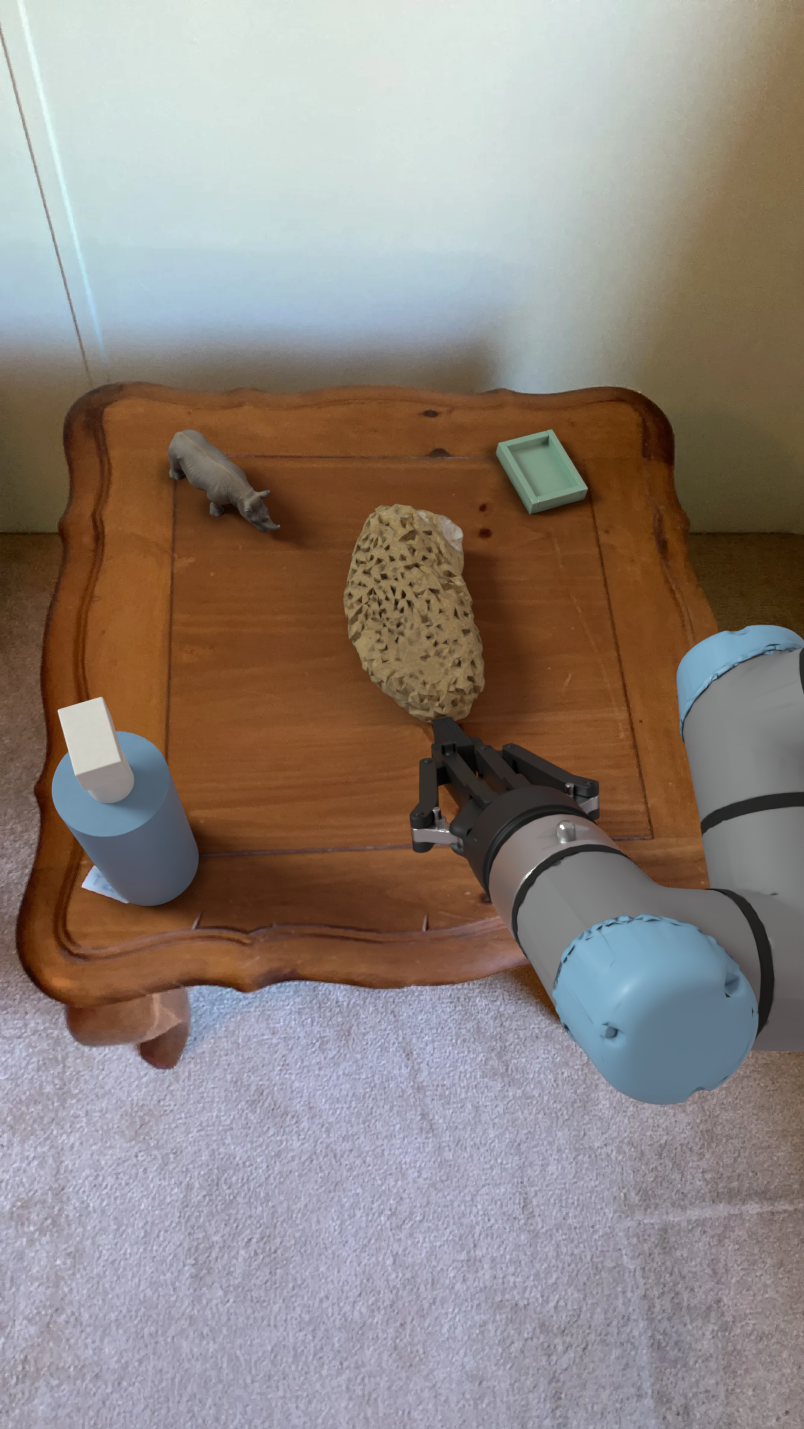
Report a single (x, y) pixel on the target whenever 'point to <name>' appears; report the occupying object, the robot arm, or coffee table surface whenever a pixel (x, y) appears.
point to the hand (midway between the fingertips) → (443, 734)
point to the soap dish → (541, 471)
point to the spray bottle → (123, 807)
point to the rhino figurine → (217, 478)
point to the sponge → (415, 613)
